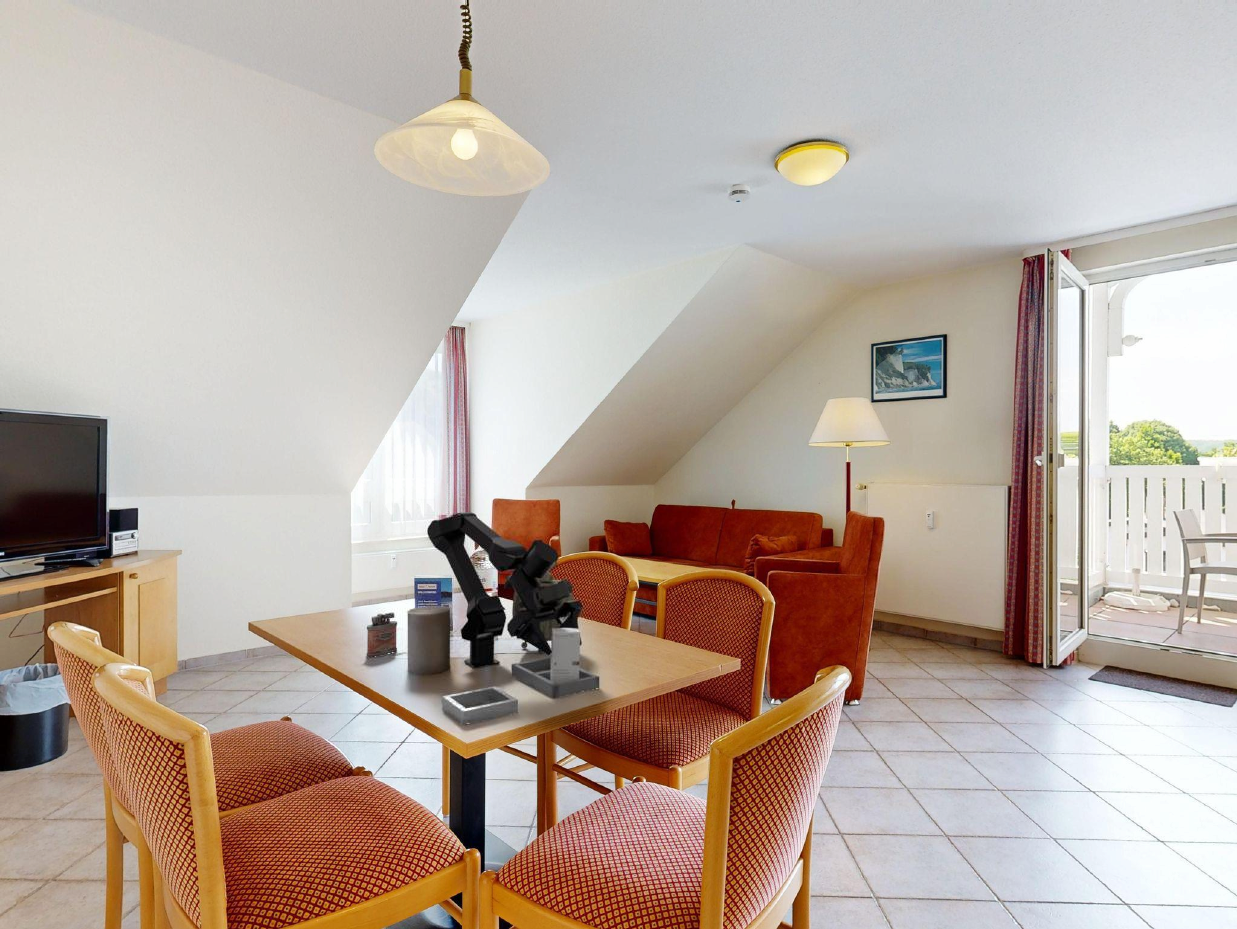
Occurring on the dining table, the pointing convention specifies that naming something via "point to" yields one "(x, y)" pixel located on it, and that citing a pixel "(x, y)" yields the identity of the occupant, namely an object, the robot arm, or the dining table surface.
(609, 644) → the dining table surface
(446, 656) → the pillar candle
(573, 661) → the skincare box
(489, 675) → the dining table surface
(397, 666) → the dining table surface
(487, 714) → the socket
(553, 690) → the rack
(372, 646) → the lighter
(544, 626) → the tabletop clock
